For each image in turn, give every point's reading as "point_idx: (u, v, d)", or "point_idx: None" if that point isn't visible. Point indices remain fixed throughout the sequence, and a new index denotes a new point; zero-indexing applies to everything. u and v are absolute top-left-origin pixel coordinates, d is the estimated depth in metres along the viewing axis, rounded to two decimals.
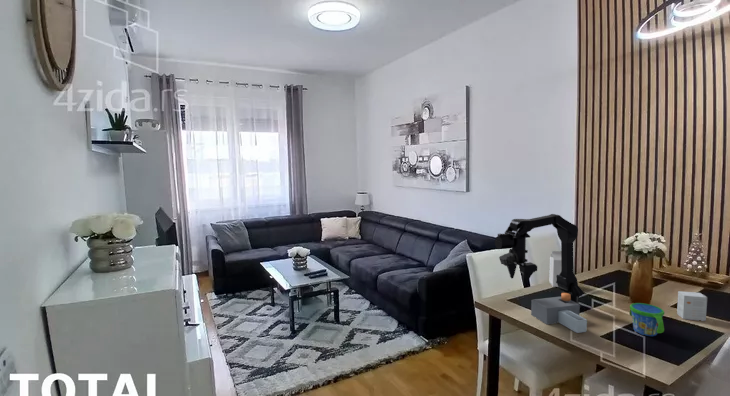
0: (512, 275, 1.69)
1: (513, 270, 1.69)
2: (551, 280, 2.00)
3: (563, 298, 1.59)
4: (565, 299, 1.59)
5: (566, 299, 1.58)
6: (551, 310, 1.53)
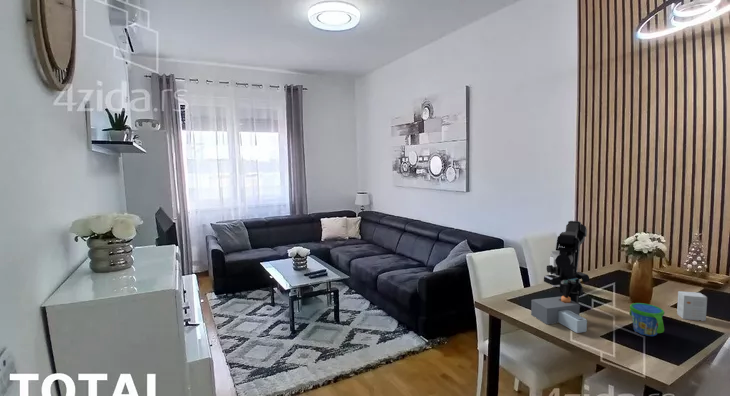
0: None
1: None
2: None
3: (563, 301, 1.59)
4: (565, 302, 1.59)
5: (566, 302, 1.59)
6: (551, 310, 1.53)
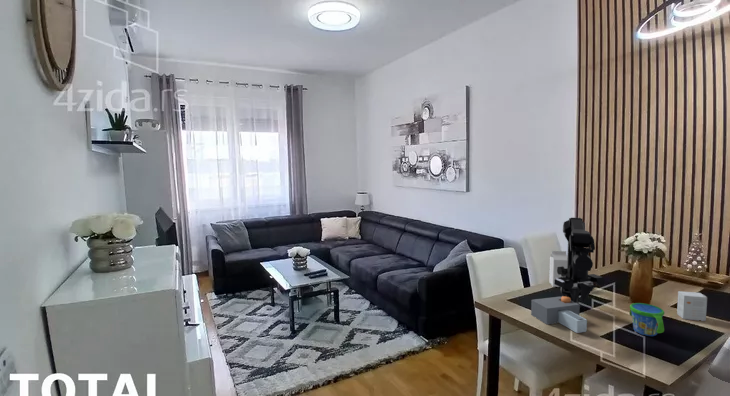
0: (582, 298, 1.46)
1: (584, 293, 1.45)
2: (551, 280, 2.00)
3: None
4: None
5: None
6: (551, 310, 1.53)
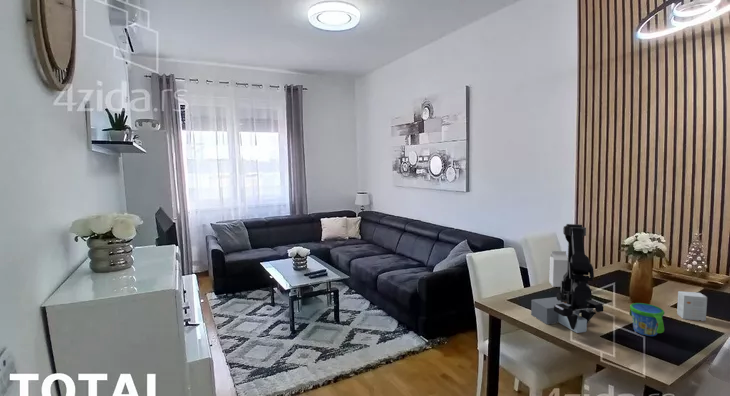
0: None
1: None
2: (551, 280, 2.00)
3: None
4: None
5: None
6: (551, 310, 1.53)
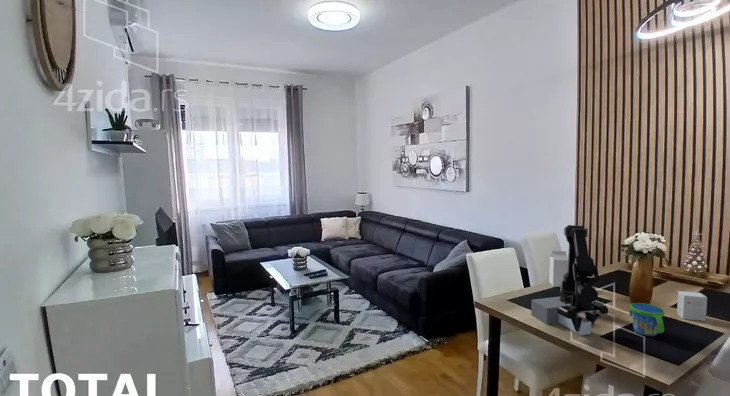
0: None
1: None
2: (551, 280, 2.00)
3: None
4: None
5: None
6: (551, 310, 1.53)
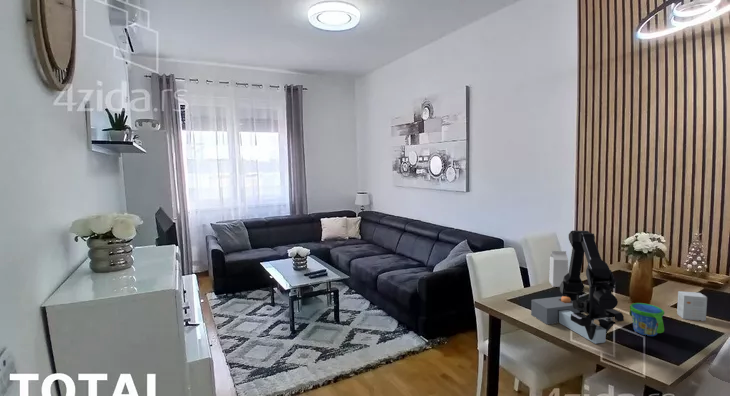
0: None
1: None
2: (551, 280, 2.00)
3: None
4: None
5: None
6: (551, 310, 1.53)
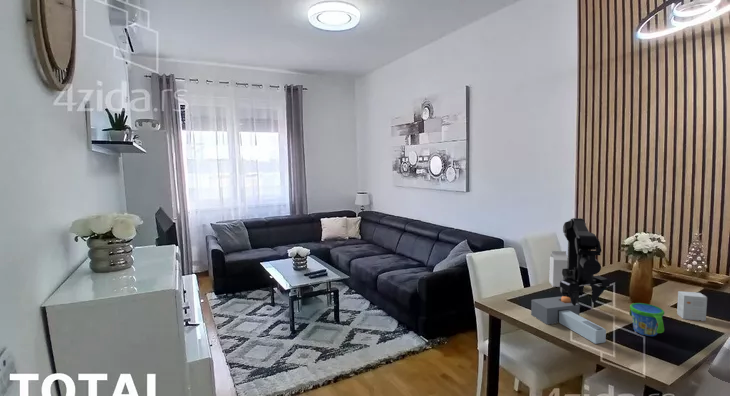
0: (593, 299, 1.47)
1: (595, 294, 1.46)
2: (551, 280, 2.00)
3: None
4: None
5: None
6: (551, 310, 1.53)
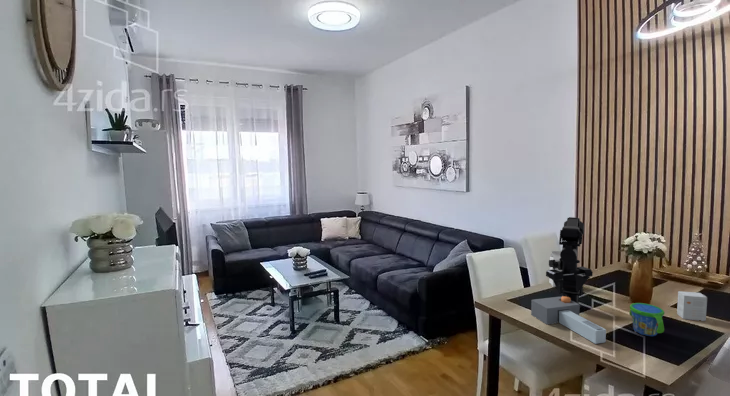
0: (577, 288, 1.57)
1: (579, 283, 1.56)
2: (551, 280, 2.00)
3: None
4: None
5: None
6: (551, 310, 1.53)
